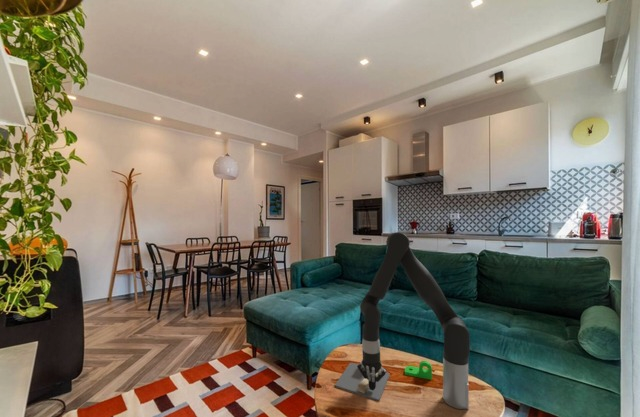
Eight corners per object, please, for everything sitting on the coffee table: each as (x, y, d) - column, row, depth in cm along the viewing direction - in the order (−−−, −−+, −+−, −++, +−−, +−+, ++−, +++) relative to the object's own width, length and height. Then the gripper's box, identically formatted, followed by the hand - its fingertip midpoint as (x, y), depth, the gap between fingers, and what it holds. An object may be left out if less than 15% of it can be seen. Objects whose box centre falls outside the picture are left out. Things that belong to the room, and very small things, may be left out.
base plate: (389, 375, 127) (389, 373, 127) (379, 402, 110) (379, 399, 110) (350, 364, 136) (350, 362, 136) (334, 387, 119) (334, 385, 119)
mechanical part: (431, 374, 129) (431, 357, 129) (431, 381, 123) (431, 364, 123) (405, 368, 133) (405, 352, 133) (404, 375, 127) (404, 359, 127)
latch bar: (374, 370, 128) (374, 360, 128) (383, 374, 126) (383, 363, 126) (356, 389, 115) (356, 378, 115) (365, 394, 112) (365, 382, 112)
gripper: (388, 347, 115) (389, 388, 115) (359, 341, 121) (360, 379, 121) (384, 356, 108) (385, 399, 108) (353, 349, 114) (354, 390, 114)
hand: (372, 388), depth 114 cm, fingers closed
